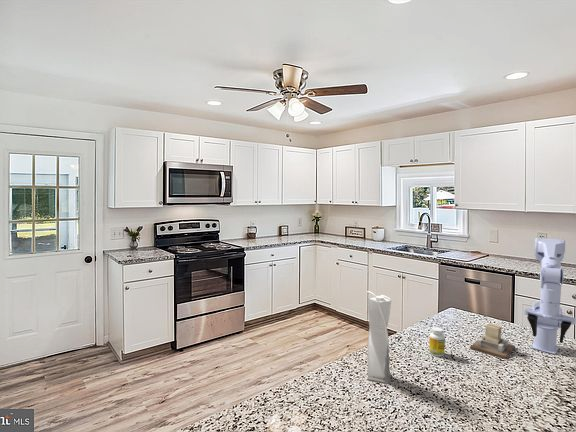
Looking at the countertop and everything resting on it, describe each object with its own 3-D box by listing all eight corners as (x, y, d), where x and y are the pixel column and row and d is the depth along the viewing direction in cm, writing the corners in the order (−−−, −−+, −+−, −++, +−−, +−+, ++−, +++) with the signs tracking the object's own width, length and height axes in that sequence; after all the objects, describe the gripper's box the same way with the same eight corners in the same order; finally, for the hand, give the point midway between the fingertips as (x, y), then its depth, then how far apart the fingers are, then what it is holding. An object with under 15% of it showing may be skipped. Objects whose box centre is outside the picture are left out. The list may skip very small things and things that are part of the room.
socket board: (481, 338, 150) (481, 330, 149) (514, 347, 141) (515, 339, 141) (470, 348, 140) (470, 340, 140) (505, 359, 131) (505, 349, 131)
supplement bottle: (434, 349, 139) (435, 325, 138) (447, 354, 134) (448, 329, 134) (426, 352, 136) (427, 328, 135) (438, 358, 131) (439, 332, 131)
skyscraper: (362, 379, 115) (365, 294, 114) (366, 367, 123) (368, 287, 121) (389, 384, 113) (392, 297, 111) (391, 372, 120) (394, 290, 118)
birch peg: (488, 342, 144) (489, 323, 143) (500, 346, 140) (501, 326, 140) (484, 345, 140) (485, 325, 140) (497, 349, 137) (498, 329, 137)
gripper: (523, 299, 128) (521, 335, 129) (574, 308, 118) (572, 348, 119) (527, 295, 133) (525, 330, 134) (577, 304, 123) (574, 342, 124)
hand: (547, 338), depth 127 cm, fingers open, 7 cm apart
